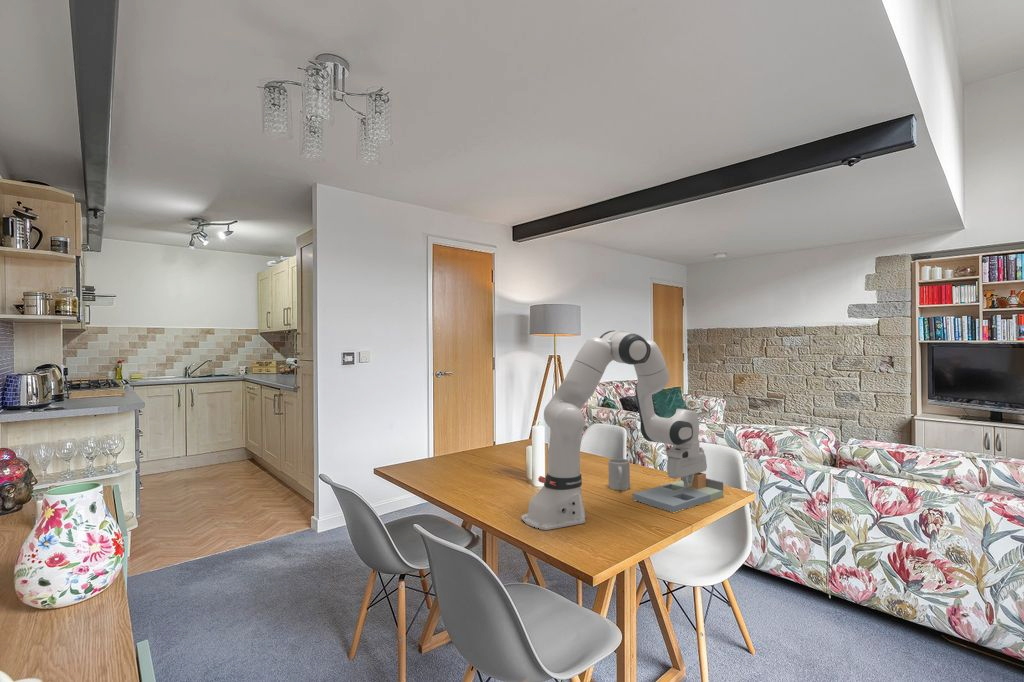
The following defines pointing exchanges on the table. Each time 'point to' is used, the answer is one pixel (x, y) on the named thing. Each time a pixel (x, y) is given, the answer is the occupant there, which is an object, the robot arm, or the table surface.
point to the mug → (619, 474)
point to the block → (699, 481)
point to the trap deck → (680, 495)
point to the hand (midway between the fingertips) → (688, 486)
